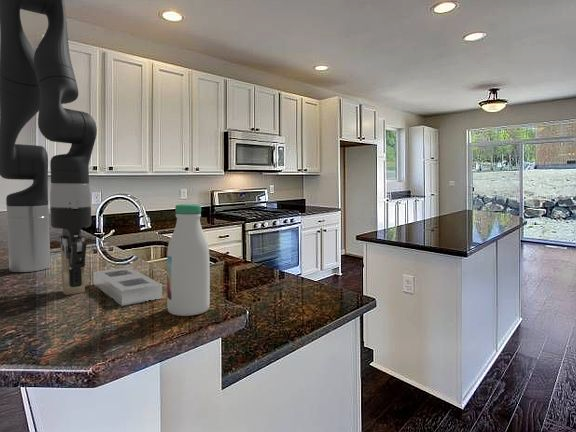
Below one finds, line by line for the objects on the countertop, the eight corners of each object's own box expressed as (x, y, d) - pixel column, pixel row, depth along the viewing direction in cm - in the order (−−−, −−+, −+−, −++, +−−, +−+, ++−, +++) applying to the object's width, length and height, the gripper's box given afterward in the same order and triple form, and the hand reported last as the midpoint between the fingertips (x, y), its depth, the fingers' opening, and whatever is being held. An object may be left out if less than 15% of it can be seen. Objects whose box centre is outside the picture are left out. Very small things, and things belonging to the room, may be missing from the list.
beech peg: (62, 291, 82) (60, 250, 81) (80, 288, 84) (79, 248, 83) (65, 295, 79) (64, 252, 78) (84, 292, 81) (83, 250, 81)
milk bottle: (217, 306, 74) (217, 204, 72) (194, 319, 66) (194, 206, 65) (183, 301, 76) (182, 203, 74) (158, 313, 69) (157, 204, 67)
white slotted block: (93, 284, 88) (93, 271, 87) (129, 279, 93) (128, 267, 93) (121, 306, 73) (121, 290, 72) (162, 298, 78) (161, 284, 78)
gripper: (44, 203, 83) (47, 280, 84) (57, 207, 72) (60, 295, 74) (82, 202, 88) (84, 275, 89) (99, 206, 77) (101, 288, 79)
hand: (73, 283), depth 81 cm, fingers closed on beech peg, 3 cm apart
